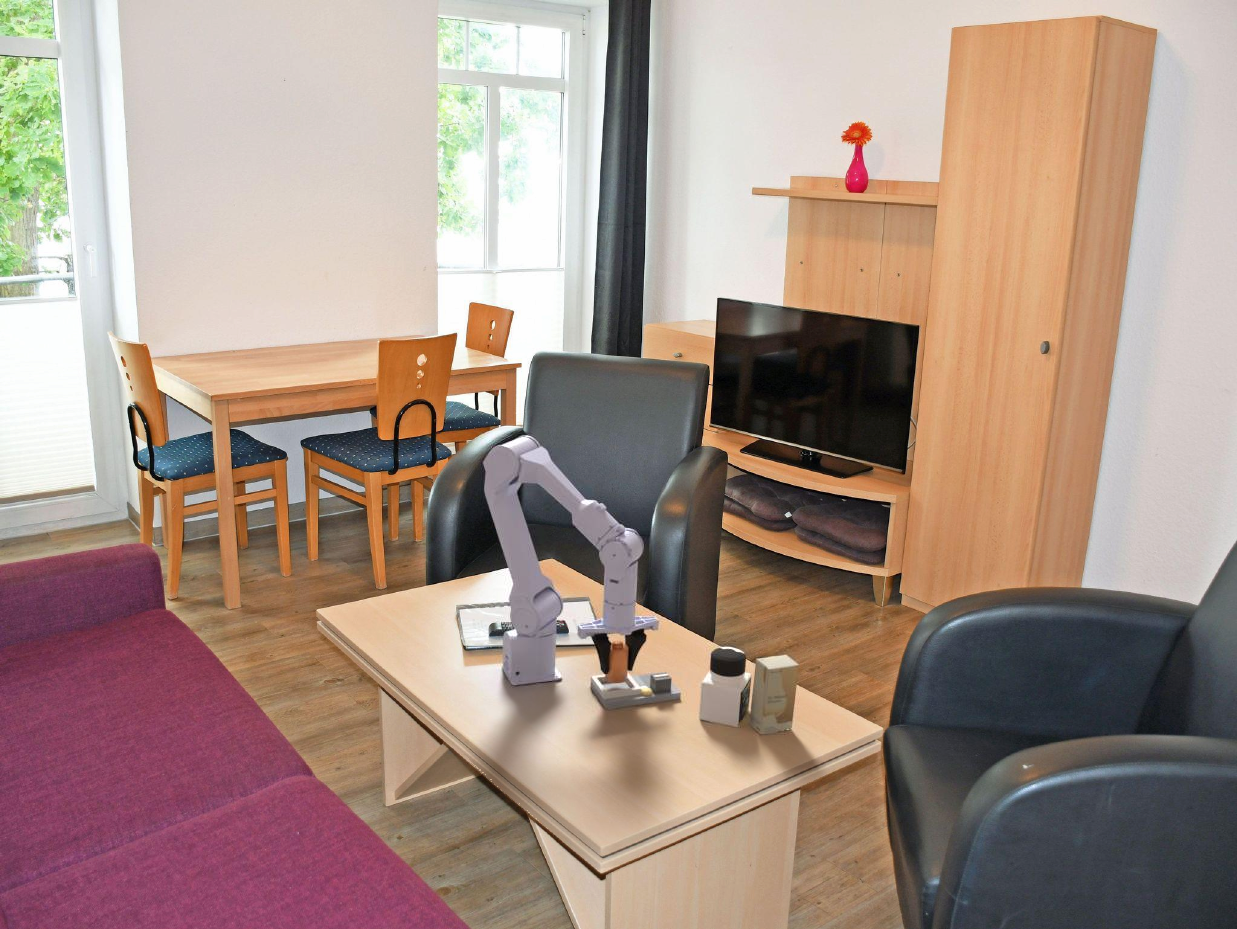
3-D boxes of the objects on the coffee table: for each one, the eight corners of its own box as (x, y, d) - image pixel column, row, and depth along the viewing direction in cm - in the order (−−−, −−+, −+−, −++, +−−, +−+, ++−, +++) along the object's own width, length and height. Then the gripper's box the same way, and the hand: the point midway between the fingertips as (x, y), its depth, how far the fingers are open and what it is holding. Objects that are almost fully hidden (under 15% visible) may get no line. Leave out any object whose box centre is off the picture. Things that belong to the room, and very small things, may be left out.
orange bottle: (609, 684, 191) (610, 648, 190) (601, 674, 195) (603, 639, 193) (630, 681, 193) (632, 646, 191) (622, 672, 196) (624, 637, 195)
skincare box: (761, 736, 182) (767, 669, 179) (748, 723, 186) (753, 658, 183) (794, 729, 185) (800, 664, 182) (780, 717, 189) (786, 653, 185)
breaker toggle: (655, 693, 193) (656, 679, 192) (649, 686, 195) (650, 673, 194) (670, 691, 194) (671, 677, 193) (665, 684, 196) (666, 671, 195)
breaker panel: (606, 709, 189) (607, 697, 188) (590, 687, 197) (590, 676, 196) (680, 698, 194) (681, 687, 193) (662, 677, 202) (662, 667, 201)
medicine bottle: (738, 728, 184) (744, 664, 181) (698, 720, 187) (702, 655, 184) (748, 710, 191) (754, 647, 188) (709, 702, 193) (714, 639, 190)
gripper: (587, 612, 184) (585, 685, 187) (666, 603, 189) (662, 675, 192) (574, 596, 190) (572, 667, 194) (651, 588, 195) (647, 658, 199)
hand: (616, 670), depth 193 cm, fingers closed on orange bottle, 4 cm apart
